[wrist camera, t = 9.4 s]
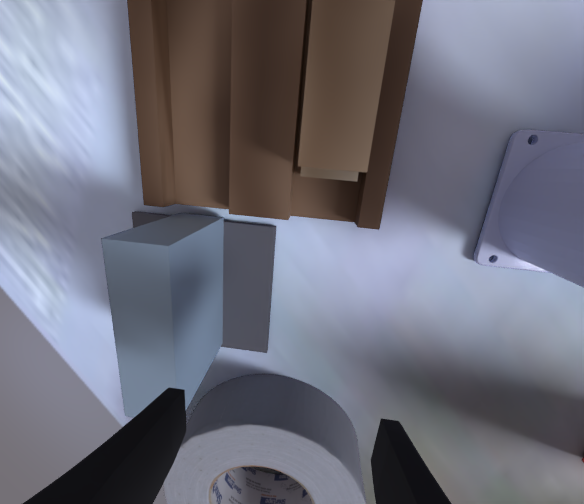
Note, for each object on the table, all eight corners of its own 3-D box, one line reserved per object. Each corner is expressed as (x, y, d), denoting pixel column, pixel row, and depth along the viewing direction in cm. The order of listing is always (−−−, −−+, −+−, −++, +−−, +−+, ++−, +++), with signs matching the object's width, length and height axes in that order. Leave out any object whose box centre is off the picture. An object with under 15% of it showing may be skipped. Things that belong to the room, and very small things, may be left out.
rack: (426, -57, 13) (450, -106, 11) (375, 221, 18) (384, 229, 15) (136, -68, 14) (100, -115, 12) (155, 198, 19) (131, 203, 16)
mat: (276, 226, 18) (275, 227, 18) (267, 349, 21) (266, 352, 21) (135, 211, 19) (131, 212, 19) (146, 333, 22) (143, 336, 22)
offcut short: (380, 33, 12) (395, 0, 10) (359, 171, 14) (366, 172, 12) (313, 29, 12) (312, -4, 10) (301, 166, 14) (297, 166, 12)
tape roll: (169, 380, 24) (131, 435, 19) (345, 363, 21) (352, 420, 17) (216, 500, 28) (194, 570, 23) (366, 497, 26) (378, 574, 21)
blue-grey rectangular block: (223, 217, 18) (168, 246, 11) (222, 343, 21) (178, 424, 14) (180, 212, 18) (101, 238, 12) (185, 338, 21) (125, 416, 15)
